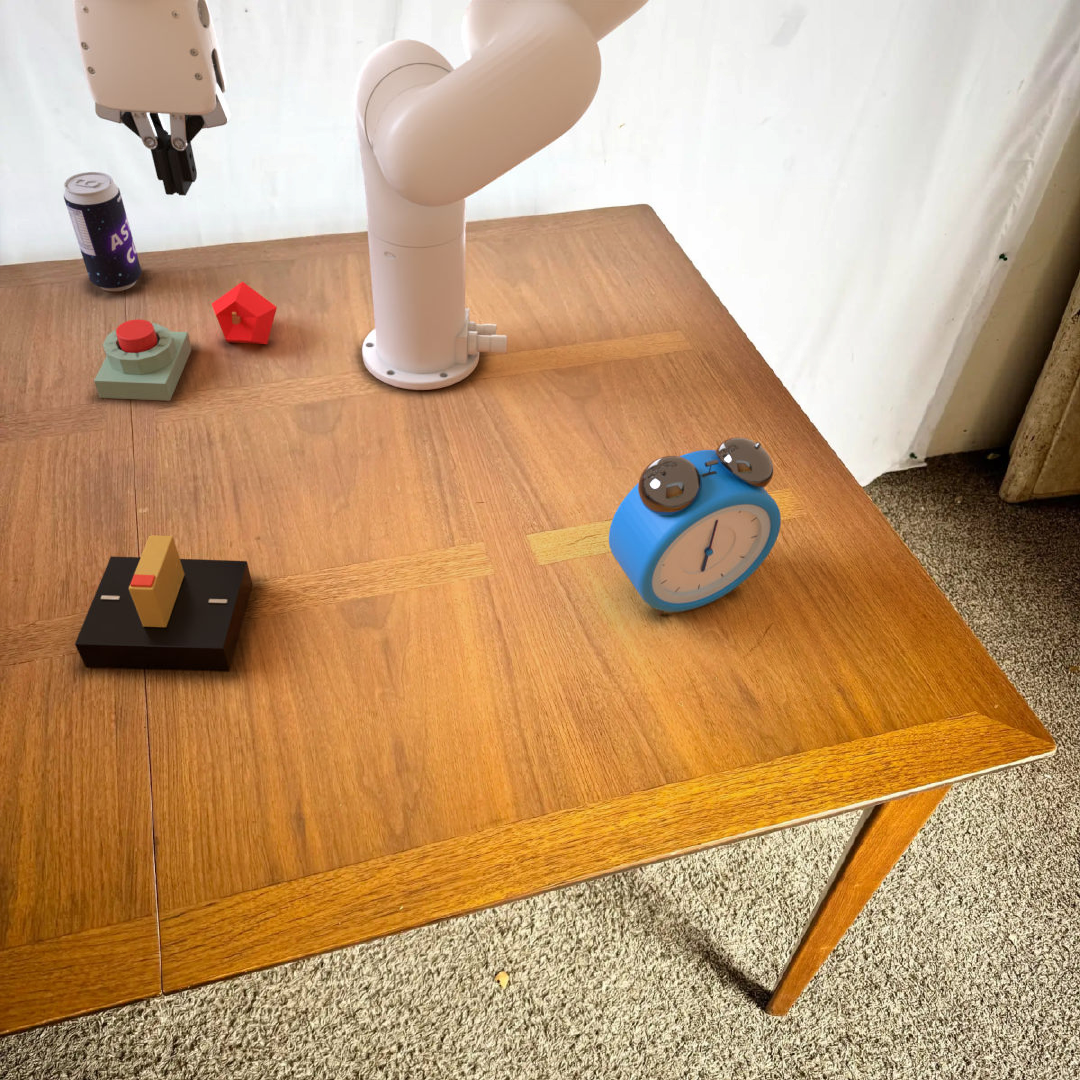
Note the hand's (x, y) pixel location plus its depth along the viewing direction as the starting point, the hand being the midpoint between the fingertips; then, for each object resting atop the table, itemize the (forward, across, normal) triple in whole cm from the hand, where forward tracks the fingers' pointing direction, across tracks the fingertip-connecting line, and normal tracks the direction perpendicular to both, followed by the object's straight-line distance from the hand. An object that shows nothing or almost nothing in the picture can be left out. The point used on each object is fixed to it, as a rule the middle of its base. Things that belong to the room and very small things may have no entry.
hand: (180, 187), depth 84 cm
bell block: (+21, +8, -1) cm, 23 cm away
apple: (+21, -1, -8) cm, 23 cm away
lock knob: (+18, -3, +32) cm, 37 cm away
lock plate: (+21, -3, +32) cm, 38 cm away
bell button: (+17, +8, -1) cm, 19 cm away
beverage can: (+21, +16, -18) cm, 32 cm away
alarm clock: (+21, -45, +26) cm, 56 cm away
